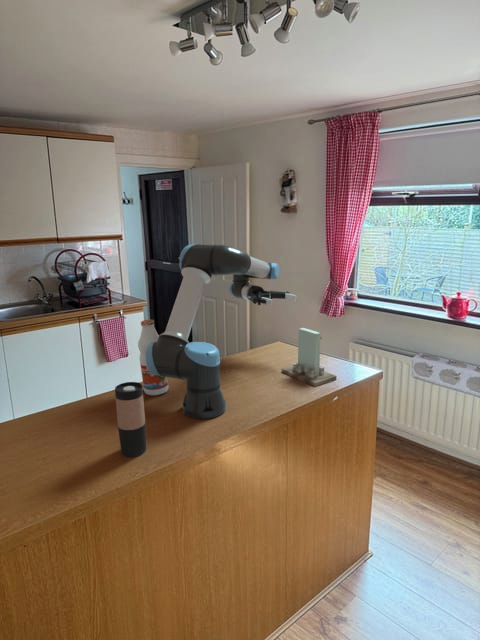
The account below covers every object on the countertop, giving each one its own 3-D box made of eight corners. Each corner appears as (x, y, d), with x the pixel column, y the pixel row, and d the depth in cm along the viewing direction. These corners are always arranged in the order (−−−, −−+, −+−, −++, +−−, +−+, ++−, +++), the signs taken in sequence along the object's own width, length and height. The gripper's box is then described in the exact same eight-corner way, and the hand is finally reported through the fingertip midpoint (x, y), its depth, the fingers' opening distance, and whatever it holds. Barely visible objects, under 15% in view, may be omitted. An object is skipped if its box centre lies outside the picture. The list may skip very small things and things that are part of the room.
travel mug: (115, 450, 127) (109, 387, 122) (138, 441, 132) (133, 379, 127) (129, 461, 122) (123, 394, 117) (152, 450, 127) (147, 386, 122)
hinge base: (281, 372, 186) (281, 362, 185) (301, 366, 193) (302, 356, 192) (315, 386, 171) (315, 375, 169) (336, 379, 177) (336, 369, 176)
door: (296, 368, 186) (296, 328, 181) (302, 367, 188) (303, 326, 183) (314, 376, 177) (316, 333, 172) (321, 374, 179) (322, 332, 175)
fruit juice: (172, 385, 172) (164, 317, 164) (163, 396, 163) (154, 324, 155) (150, 385, 174) (140, 317, 166) (140, 395, 165) (129, 324, 157)
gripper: (274, 297, 209) (305, 305, 192) (231, 305, 195) (261, 313, 178) (274, 282, 207) (305, 288, 190) (231, 288, 193) (261, 295, 176)
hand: (284, 300), depth 184 cm, fingers open, 13 cm apart
